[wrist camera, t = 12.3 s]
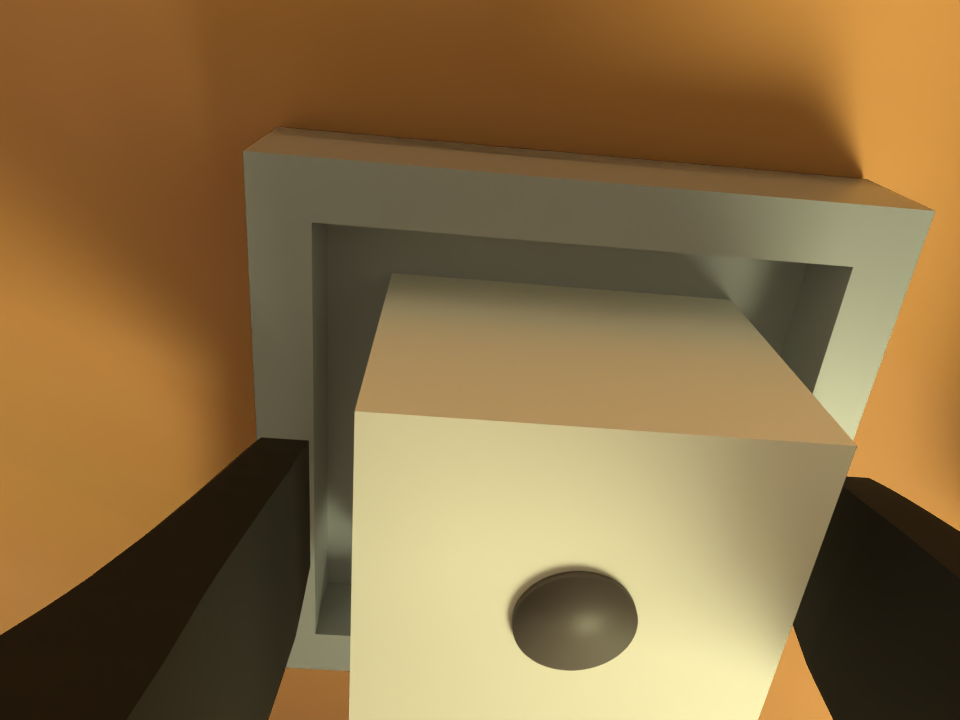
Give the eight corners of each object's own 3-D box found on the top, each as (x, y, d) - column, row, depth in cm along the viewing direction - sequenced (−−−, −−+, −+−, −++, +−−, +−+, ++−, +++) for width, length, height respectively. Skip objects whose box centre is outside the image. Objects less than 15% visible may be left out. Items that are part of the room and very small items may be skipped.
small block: (664, 562, 13) (740, 781, 10) (381, 546, 13) (347, 764, 9) (730, 299, 11) (861, 451, 7) (391, 272, 11) (352, 416, 7)
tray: (730, 615, 15) (763, 692, 13) (290, 589, 14) (267, 666, 13) (866, 178, 11) (935, 211, 9) (276, 126, 10) (242, 151, 9)
